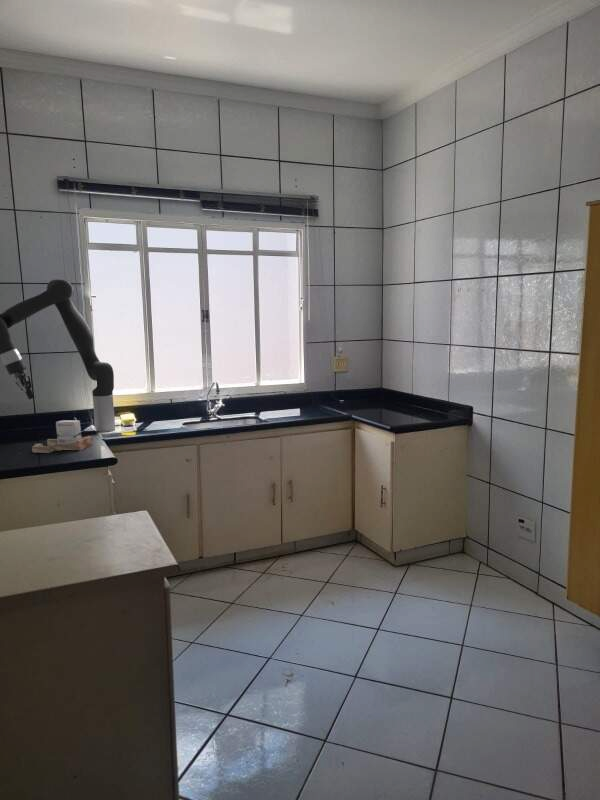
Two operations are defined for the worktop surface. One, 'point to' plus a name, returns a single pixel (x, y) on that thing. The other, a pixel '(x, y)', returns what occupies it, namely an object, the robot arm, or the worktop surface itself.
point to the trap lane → (62, 445)
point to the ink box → (68, 431)
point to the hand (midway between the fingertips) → (31, 398)
